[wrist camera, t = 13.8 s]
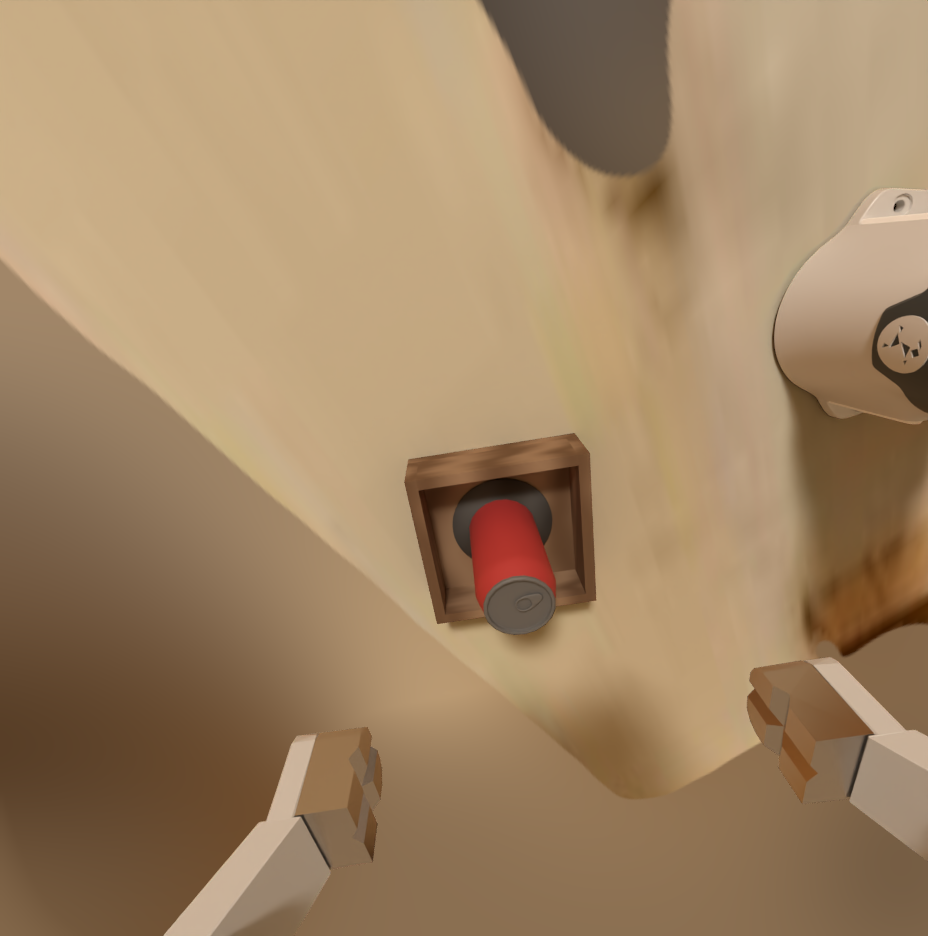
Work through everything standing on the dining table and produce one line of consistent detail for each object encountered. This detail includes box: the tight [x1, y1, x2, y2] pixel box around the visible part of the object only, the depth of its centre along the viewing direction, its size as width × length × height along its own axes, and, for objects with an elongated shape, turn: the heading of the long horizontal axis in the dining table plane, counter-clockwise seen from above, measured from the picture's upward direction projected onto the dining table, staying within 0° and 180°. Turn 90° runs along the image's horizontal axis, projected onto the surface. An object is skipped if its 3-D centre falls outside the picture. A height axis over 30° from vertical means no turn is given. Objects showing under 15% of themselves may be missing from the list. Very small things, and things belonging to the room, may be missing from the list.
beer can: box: [469, 499, 556, 635], centre depth 40 cm, size 7×7×12 cm
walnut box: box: [404, 433, 596, 624], centre depth 45 cm, size 16×16×5 cm
